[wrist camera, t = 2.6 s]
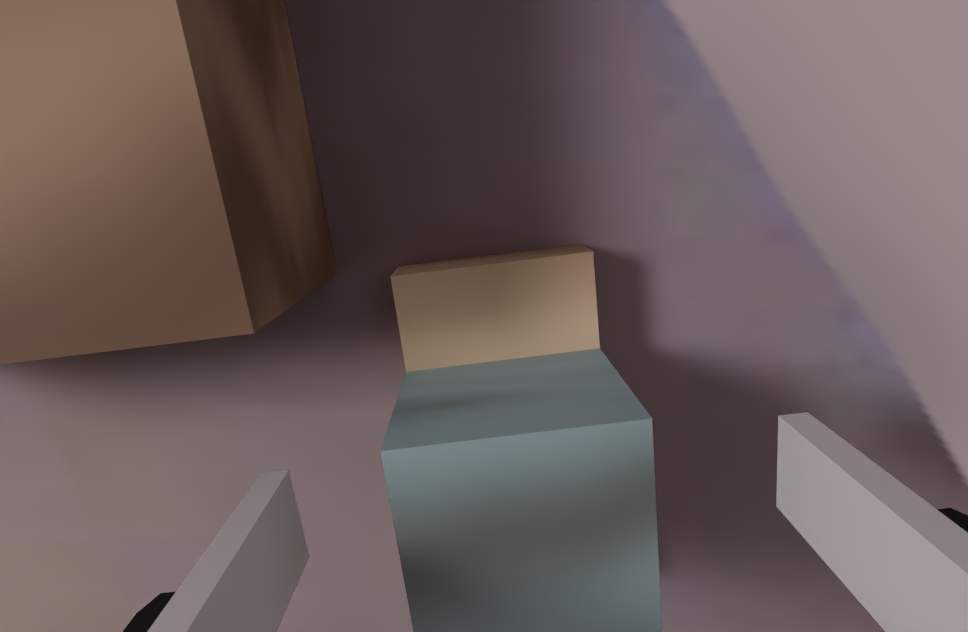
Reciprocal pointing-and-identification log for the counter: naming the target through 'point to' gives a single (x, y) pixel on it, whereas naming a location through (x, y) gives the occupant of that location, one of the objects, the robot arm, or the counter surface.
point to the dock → (151, 174)
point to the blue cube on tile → (518, 453)
